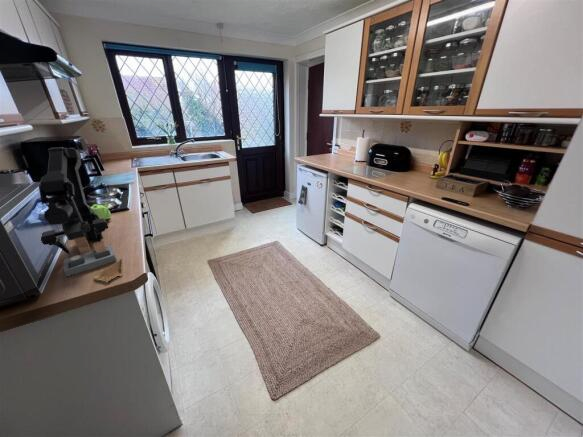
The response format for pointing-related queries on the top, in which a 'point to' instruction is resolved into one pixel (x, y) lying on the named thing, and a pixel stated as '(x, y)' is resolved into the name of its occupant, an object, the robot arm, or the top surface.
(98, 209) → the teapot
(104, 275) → the shard
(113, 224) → the top surface
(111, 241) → the top surface
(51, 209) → the robot arm
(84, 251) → the brown wooden block
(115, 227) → the top surface
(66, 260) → the board
